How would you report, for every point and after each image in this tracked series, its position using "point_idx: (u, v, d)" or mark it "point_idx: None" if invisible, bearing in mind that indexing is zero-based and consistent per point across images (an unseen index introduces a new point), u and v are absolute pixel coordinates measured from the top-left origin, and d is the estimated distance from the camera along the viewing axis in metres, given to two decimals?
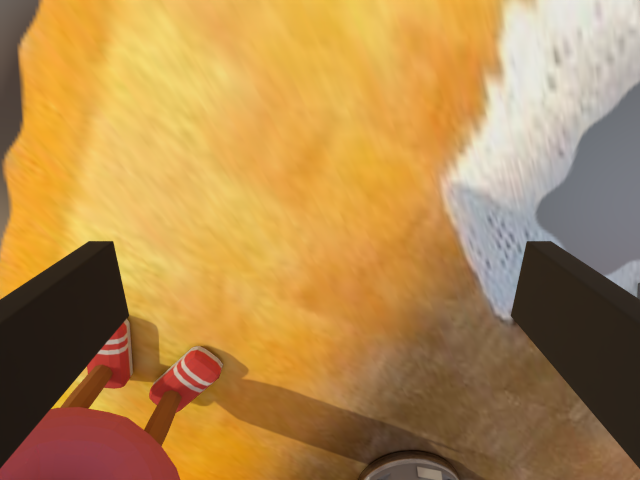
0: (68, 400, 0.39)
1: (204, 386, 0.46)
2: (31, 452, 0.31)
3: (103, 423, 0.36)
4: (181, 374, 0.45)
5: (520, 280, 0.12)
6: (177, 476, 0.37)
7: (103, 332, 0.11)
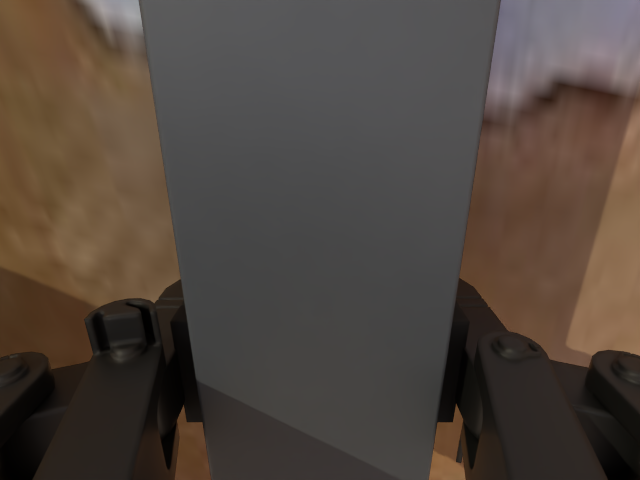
0: None
1: None
2: None
3: None
4: None
5: None
6: None
7: None
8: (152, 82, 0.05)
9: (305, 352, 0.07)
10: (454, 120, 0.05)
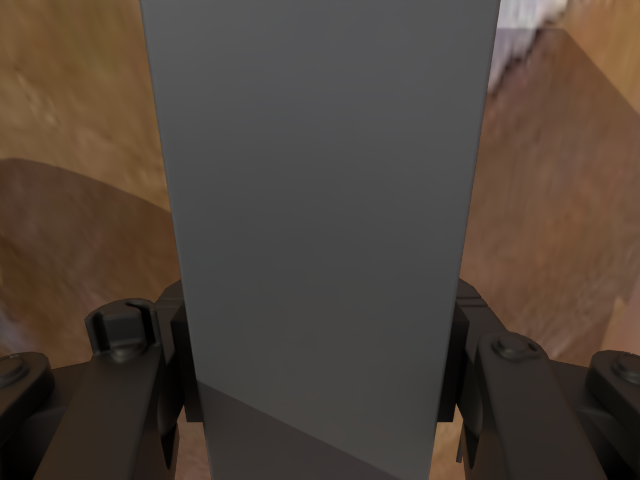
0: None
1: None
2: None
3: None
4: None
5: None
6: None
7: None
8: (153, 82, 0.05)
9: (305, 352, 0.07)
10: (454, 120, 0.05)
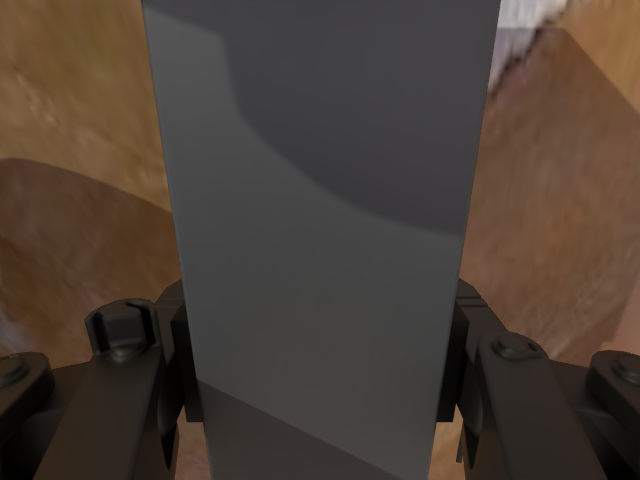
0: None
1: None
2: None
3: None
4: None
5: None
6: None
7: None
8: (154, 82, 0.05)
9: (305, 351, 0.07)
10: (454, 120, 0.05)
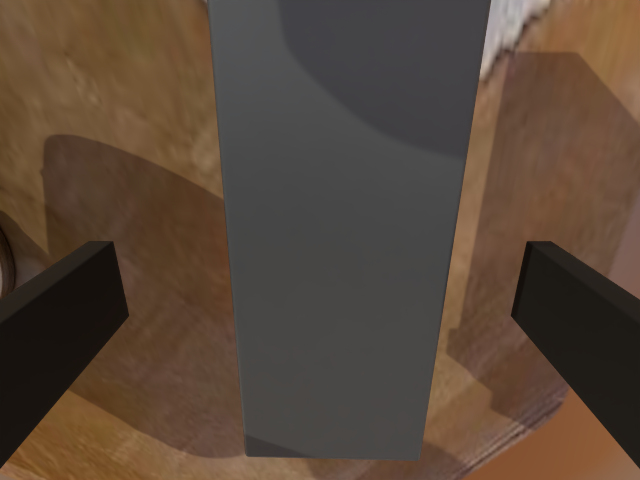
0: None
1: None
2: None
3: None
4: None
5: (519, 280, 0.12)
6: None
7: (103, 332, 0.11)
8: (209, 7, 0.06)
9: (327, 258, 0.08)
10: (460, 44, 0.06)
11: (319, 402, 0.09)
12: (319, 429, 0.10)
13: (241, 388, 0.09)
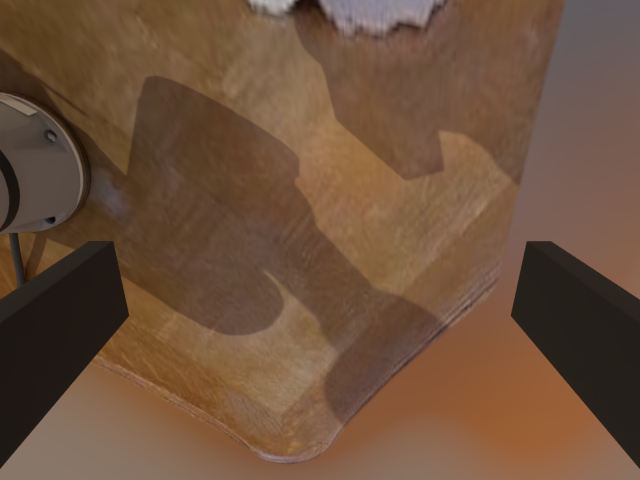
0: None
1: None
2: None
3: None
4: None
5: (519, 280, 0.12)
6: None
7: (103, 333, 0.11)
8: None
9: None
10: None
11: None
12: None
13: None
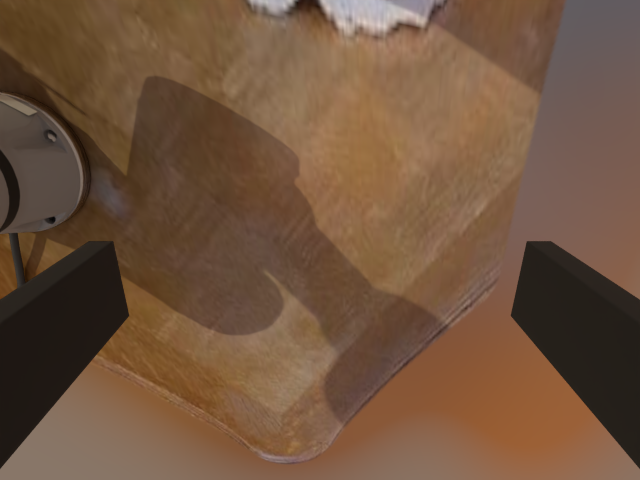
0: None
1: None
2: None
3: None
4: None
5: (519, 280, 0.12)
6: None
7: (103, 333, 0.11)
8: None
9: None
10: None
11: None
12: None
13: None
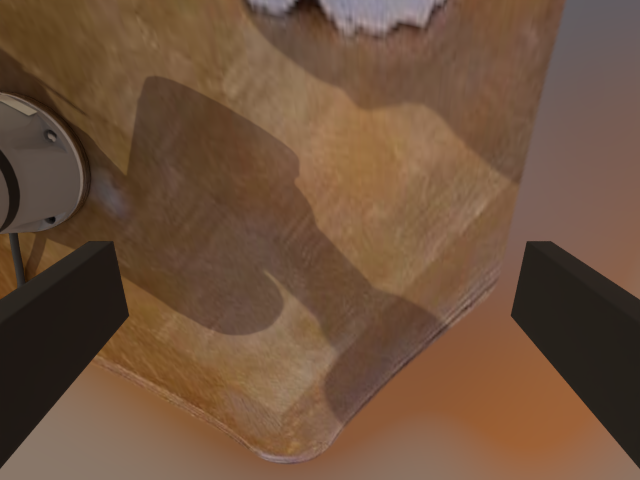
0: None
1: None
2: None
3: None
4: None
5: (519, 280, 0.12)
6: None
7: (103, 333, 0.11)
8: None
9: None
10: None
11: None
12: None
13: None
